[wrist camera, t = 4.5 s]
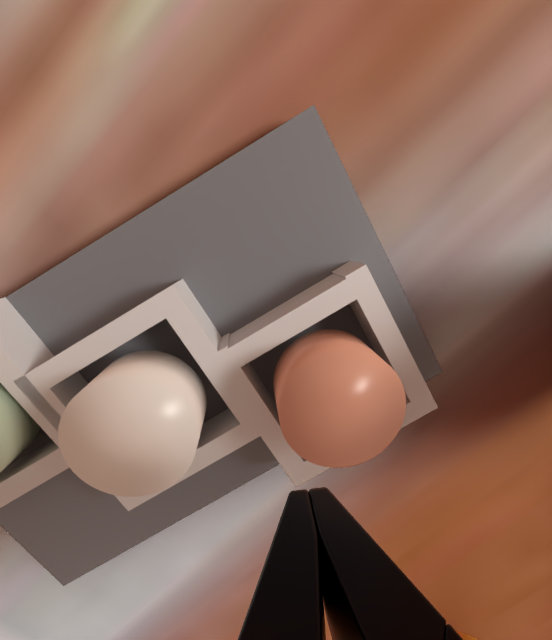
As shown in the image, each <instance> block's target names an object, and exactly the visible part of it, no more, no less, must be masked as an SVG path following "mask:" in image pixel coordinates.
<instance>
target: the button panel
mask: <svg viewBox="0 0 552 640" xmlns="http://www.w3.org/2000/svg"><path fill="white" fill-rule="evenodd" d="M324 329H335V330H341V331H345V332H348V333H350V334H352V335H354V336H356V337H357V338H359V339H360V340H361V341H363V342H364V343H365V344H366V345H367V346H368V347H369V348H370V349H372V350H373V351H374V352H375V353H376V354H377V355H378V356H379V357H381V358H382V359H383V360H384V361H385V362H386V363H387V364H388V365H390V366H391V367H392V368H393V370H394V371H395V372H396V373H397V375H398V376H399V378H400V380H401V382H402V384H403V387H404V391H405V396H406V411H405V417H404V420H403V423H402V426H401V428H403V427H404V426H406V425H408V424H410V423H412V422H413V421H415V420H417V419H419V418H421V417H422V416H424V415H426V414H428V413H430V412H431V411H433V410H435V409H437V408H438V406H437V404H436V402H435V400H434V398H433V396H432V394H431V392H430V390H429V388H428V386H427V384H426V383H425V382H426V381H427V380H429V379H431V378H433V377H434V376H436V375H438V374H440V373H441V372H443V371H442V369H441V367H440V365H439V363H438V361H437V359H436V357H435V355H434V353H433V351H432V349H431V347H430V345H429V342H428V340H427V338H426V336H425V334H424V332H423V330H422V328H421V326H420V324H419V322H418V320H417V318H416V315H415V313H414V311H413V309H412V307H411V305H410V303H409V301H408V299H407V297H406V295H405V293H404V291H403V289H402V286H401V284H400V282H399V280H398V278H397V276H396V274H395V272H394V270H393V268H392V266H391V264H390V262H389V259H388V257H387V255H386V253H385V251H384V249H383V247H382V245H381V243H380V241H379V239H378V237H377V235H376V233H375V230H374V228H373V226H372V224H371V222H370V220H369V218H368V216H367V214H366V212H365V210H364V208H363V206H362V204H361V201H360V199H359V197H358V195H357V193H356V191H355V189H354V187H353V185H352V183H351V181H350V179H349V177H348V174H347V172H346V170H345V168H344V166H343V164H342V162H341V160H340V158H339V156H338V154H337V152H336V150H335V148H334V145H333V143H332V141H331V139H330V137H329V135H328V133H327V131H326V129H325V127H324V125H323V123H322V121H321V118H320V116H319V114H318V112H317V110H316V108H315V106H314V105H313V106H311V107H310V108H308V109H307V110H305V111H303V112H302V113H300V114H299V115H297V116H295V117H294V118H292V119H291V120H289V121H287V122H286V123H284V124H283V125H281V126H279V127H278V128H276V129H275V130H273V131H271V132H270V133H268V134H267V135H265V136H263V137H262V138H260V139H259V140H257V141H255V142H254V143H252V144H251V145H249V146H247V147H246V148H244V149H242V150H241V151H239V152H238V153H236V154H234V155H233V156H231V157H230V158H228V159H226V160H225V161H223V162H222V163H220V164H218V165H217V166H215V167H214V168H212V169H210V170H209V171H207V172H206V173H204V174H202V175H201V176H199V177H198V178H196V179H194V180H193V181H191V182H190V183H188V184H186V185H185V186H183V187H182V188H180V189H178V190H177V191H175V192H174V193H172V194H170V195H169V196H167V197H166V198H164V199H162V200H161V201H159V202H158V203H156V204H154V205H153V206H151V207H150V208H148V209H146V210H145V211H143V212H142V213H140V214H138V215H137V216H135V217H134V218H132V219H130V220H129V221H127V222H126V223H124V224H122V225H121V226H119V227H117V228H116V229H114V230H113V231H111V232H109V233H108V234H106V235H105V236H103V237H101V238H100V239H98V240H97V241H95V242H93V243H92V244H90V245H89V246H87V247H85V248H84V249H82V250H81V251H79V252H77V253H76V254H74V255H73V256H71V257H69V258H68V259H66V260H65V261H63V262H61V263H60V264H58V265H57V266H55V267H53V268H52V269H50V270H49V271H47V272H45V273H44V274H42V275H41V276H39V277H37V278H36V279H34V280H33V281H31V282H29V283H28V284H26V285H25V286H23V287H21V288H20V289H18V290H17V291H15V292H13V293H12V294H10V295H9V296H7V297H5V298H1V299H0V383H1V384H2V385H3V386H4V387H5V388H6V389H7V390H8V391H9V393H10V394H11V395H12V396H13V397H14V398H15V399H16V400H17V401H18V403H19V404H20V405H21V406H22V407H23V408H24V409H25V410H26V411H27V413H28V414H29V415H30V416H31V417H32V418H33V419H34V420H35V421H36V423H37V424H38V425H39V426H40V430H39V432H38V435H37V436H36V438H35V439H34V441H33V442H32V443H31V444H30V445H29V446H28V447H27V448H26V449H25V450H24V451H23V452H22V453H21V454H20V455H18V456H17V457H16V458H15V459H14V460H13V461H12V462H11V463H10V464H9V465H8V466H7V467H6V468H5V469H4V470H3V471H1V472H0V525H1V526H2V527H3V528H4V529H5V530H6V531H7V532H8V533H9V534H10V535H11V536H12V537H13V538H14V539H15V540H16V541H17V542H18V543H19V544H21V545H22V546H23V547H24V548H25V549H26V550H27V551H28V552H29V553H30V554H31V555H32V556H33V557H34V558H35V559H36V560H37V561H38V562H39V563H40V564H41V565H42V566H43V567H44V568H45V569H47V570H48V571H49V572H50V573H51V574H52V575H53V576H54V577H55V578H56V579H57V580H58V581H59V582H60V583H61V584H62V585H63V586H64V585H66V584H68V583H70V582H71V581H73V580H75V579H77V578H78V577H80V576H82V575H84V574H86V573H87V572H89V571H91V570H93V569H94V568H96V567H98V566H100V565H102V564H103V563H105V562H107V561H109V560H110V559H112V558H114V557H116V556H117V555H119V554H121V553H123V552H125V551H126V550H128V549H130V548H132V547H133V546H135V545H137V544H139V543H140V542H142V541H144V540H146V539H148V538H149V537H151V536H153V535H155V534H156V533H158V532H160V531H162V530H163V529H165V528H167V527H169V526H171V525H172V524H174V523H176V522H178V521H179V520H181V519H183V518H185V517H187V516H188V515H190V514H192V513H194V512H195V511H197V510H199V509H201V508H202V507H204V506H206V505H208V504H210V503H211V502H213V501H215V500H217V499H218V498H220V497H222V496H224V495H225V494H227V493H229V492H231V491H233V490H234V489H236V488H238V487H240V486H241V485H243V484H245V483H247V482H248V481H250V480H252V479H254V478H256V477H257V476H259V475H261V474H263V473H264V472H266V471H268V470H270V469H271V468H273V467H275V466H277V465H279V464H280V465H281V467H282V468H283V469H284V471H285V472H286V474H287V475H288V477H289V478H290V480H291V481H292V482H293V484H294V485H295V487H297V486H299V485H301V484H303V483H304V482H306V481H308V480H310V479H311V478H313V477H315V476H317V475H319V474H320V473H322V472H324V471H326V470H328V469H329V468H331V467H324V466H320V465H316V464H314V463H311V462H309V461H307V460H305V459H303V458H302V457H301V456H299V455H298V454H297V453H296V452H295V451H294V450H293V449H292V448H291V447H290V446H289V444H288V443H287V441H286V440H285V438H284V436H283V433H282V431H281V427H280V422H279V416H278V411H277V405H276V399H275V393H274V386H273V377H274V371H275V368H276V365H277V362H278V360H279V358H280V356H281V355H282V353H283V352H284V351H285V350H286V348H287V347H288V346H289V345H290V344H291V343H293V342H294V341H295V340H297V339H298V338H300V337H301V336H303V335H305V334H307V333H310V332H313V331H317V330H324ZM145 350H150V351H160V352H164V353H168V354H171V355H173V356H175V357H177V358H179V359H181V360H183V361H184V362H185V363H187V364H188V365H189V366H190V367H191V368H192V369H193V370H194V371H195V372H196V373H197V375H198V376H199V378H200V379H201V381H202V383H203V386H204V388H205V392H206V398H207V407H206V413H205V417H204V421H203V425H202V429H201V434H200V438H199V442H198V446H197V450H196V453H195V457H194V459H193V461H192V464H191V466H190V467H189V469H188V470H187V472H186V473H185V474H184V475H183V476H182V477H181V478H180V479H179V480H178V481H177V482H175V483H174V484H172V485H171V486H169V487H168V488H166V489H164V490H162V491H159V492H156V493H154V494H150V495H145V496H137V497H125V496H117V495H112V494H108V493H105V492H102V491H100V490H98V489H95V488H93V487H92V486H90V485H88V484H86V483H85V482H84V481H83V480H81V479H80V478H79V477H78V476H77V475H76V474H75V473H74V472H73V471H72V470H71V469H70V467H69V466H68V465H67V463H66V461H65V460H64V457H63V455H62V453H61V450H60V446H59V440H58V427H59V423H60V419H61V416H62V414H63V411H64V410H65V408H66V406H67V405H68V403H69V402H70V401H71V400H72V398H73V397H74V396H76V395H77V394H78V393H79V392H80V391H81V390H82V389H83V388H84V387H85V386H87V385H88V384H89V383H90V382H91V381H92V380H93V379H94V378H95V377H97V376H98V375H99V374H100V373H101V372H102V371H103V370H104V369H105V368H106V367H108V366H109V365H110V364H111V363H112V362H113V361H115V360H116V359H118V358H120V357H122V356H124V355H126V354H129V353H132V352H137V351H145ZM401 428H400V429H401Z"/></svg>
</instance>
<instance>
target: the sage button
mask: <svg viewBox="0 0 552 640" xmlns="http://www.w3.org/2000/svg"><path fill="white" fill-rule="evenodd" d="M39 430H40V426H39V425H38V424H37V423H36V421H35V420H34V419H33V418H32V417H31V416H30V415H29V414H28V413H27V411H26V410H25V409H24V408H23V407H22V406H21V405H20V404H19V403H18V401H17V400H16V399H15V398H14V397H13V396H12V395H11V394H10V393H9V391H8V390H7V389H6V388H5V387H4V386H3V385H2V384H1V383H0V472H1V471H3V470H4V469H5V468H6V467H7V466H8V465H9V464H10V463H11V462H12V461H13V460H14V459H15V458H16V457H17V456H18V455H20V454H21V453H22V452H23V451H24V450H25V449H26V448H27V447H28V446H29V445H30V444H31V443H32V442H33V441H34V439H35V438H36V436H37V435H38V432H39Z"/></svg>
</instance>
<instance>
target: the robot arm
mask: <svg viewBox="0 0 552 640" xmlns="http://www.w3.org/2000/svg"><path fill="white" fill-rule="evenodd" d="M323 602H324V605H323ZM324 608H325V612H326V616H327V621H328V625H329V628H330V632H331V636H332V640H463V639H462V638H461V636H460V635H459V634H458V633H457V632H456V631H455V630H454V629H453V627H452V626H451V625H449V624H447V625H446V620H445V619H444V618H443V617H442V616H441V614H440V613H439V612H438V611H437V610H436V609H435V608H434V607H433V605H432V604H431V603H430V602H429V601H428V600H427V599H426V598H425V597H424V595H423V594H422V593H421V592H420V591H419V590H418V589H417V588H416V587H415V585H414V584H413V583H412V582H411V581H410V580H409V579H408V578H407V577H406V575H405V574H404V573H403V572H402V571H401V570H400V569H399V568H398V566H397V565H396V564H395V563H394V562H393V561H392V560H391V559H390V558H389V556H388V555H387V554H386V553H385V552H384V551H383V550H382V549H381V548H380V546H379V545H378V544H377V543H376V542H375V541H374V540H373V539H372V538H371V536H370V535H369V534H368V533H367V532H366V531H365V530H364V529H363V527H362V526H361V525H360V524H359V523H358V522H357V521H356V520H355V519H354V517H353V516H352V515H351V514H350V513H349V512H348V511H347V510H346V509H345V507H344V506H343V505H342V504H341V503H340V502H339V501H338V500H337V499H336V497H335V496H334V495H333V494H332V493H331V492H330V491H329V490H328V489H327V488H325V487H322V488H314V489H310V490H309V492H308V491H307V490H297V491H291V492H290V493H289V496H288V499H287V501H286V504H285V507H284V510H283V513H282V516H281V518H280V521H279V524H278V527H277V530H276V533H275V535H274V538H273V541H272V544H271V547H270V550H269V552H268V555H267V558H266V561H265V564H264V567H263V569H262V572H261V575H260V578H259V581H258V584H257V587H256V589H255V592H254V595H253V598H252V601H251V604H250V606H249V609H248V612H247V615H246V618H245V621H244V623H243V626H242V629H241V632H240V635H239V638H238V640H326V634H325V618H324Z"/></svg>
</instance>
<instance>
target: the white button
mask: <svg viewBox="0 0 552 640" xmlns="http://www.w3.org/2000/svg"><path fill="white" fill-rule="evenodd" d="M206 407H207V398H206V392H205V388H204V386H203V383H202V381H201V379H200V378H199V376H198V375H197V373H196V372H195V371H194V370H193V369H192V368H191V367H190V366H189V365H188V364H187V363H185V362H184V361H183V360H181V359H179V358H177V357H175V356H173V355H171V354H168V353H164V352H160V351H150V350H145V351H137V352H132V353H129V354H126V355H124V356H122V357H120V358H118V359H116V360H115V361H113V362H112V363H111V364H110V365H109V366H108V367H106V368H105V369H104V370H103V371H102V372H101V373H100V374H99V375H98V376H97V377H95V378H94V379H93V380H92V381H91V382H90V383H89V384H88V385H87V386H85V387H84V388H83V389H82V390H81V391H80V392H79V393H78V394H77V395H76V396H74V397H73V398H72V400H71V401H70V402H69V403H68V405H67V406H66V408H65V410H64V411H63V414H62V416H61V419H60V423H59V427H58V440H59V446H60V450H61V453H62V455H63V457H64V460H65V461H66V463H67V465H68V466H69V467H70V469H71V470H72V471H73V472H74V473H75V474H76V475H77V476H78V477H79V478H80V479H81V480H83V481H84V482H85V483H86V484H88V485H90V486H92V487H93V488H95V489H98V490H100V491H102V492H105V493H108V494H112V495H117V496H125V497H137V496H145V495H150V494H154V493H156V492H159V491H162V490H164V489H166V488H168V487H169V486H171V485H172V484H174V483H175V482H177V481H178V480H179V479H180V478H181V477H182V476H183V475H184V474H185V473H186V472H187V470H188V469H189V467H190V466H191V464H192V461H193V459H194V457H195V453H196V450H197V446H198V442H199V438H200V434H201V429H202V425H203V421H204V417H205V413H206Z"/></svg>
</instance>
